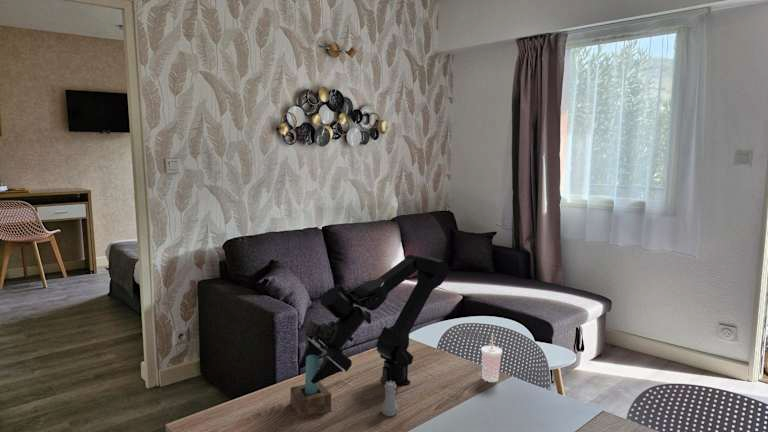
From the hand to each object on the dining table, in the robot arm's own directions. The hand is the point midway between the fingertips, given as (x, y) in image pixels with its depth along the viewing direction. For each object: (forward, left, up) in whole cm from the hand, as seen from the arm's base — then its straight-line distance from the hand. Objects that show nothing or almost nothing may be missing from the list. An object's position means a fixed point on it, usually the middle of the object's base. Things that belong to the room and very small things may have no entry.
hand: (305, 375), depth 129 cm
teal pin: (-1, 0, -8) cm, 9 cm away
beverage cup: (-54, +8, -9) cm, 56 cm away
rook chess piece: (-18, +11, -9) cm, 24 cm away
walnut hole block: (-1, 0, -9) cm, 9 cm away
